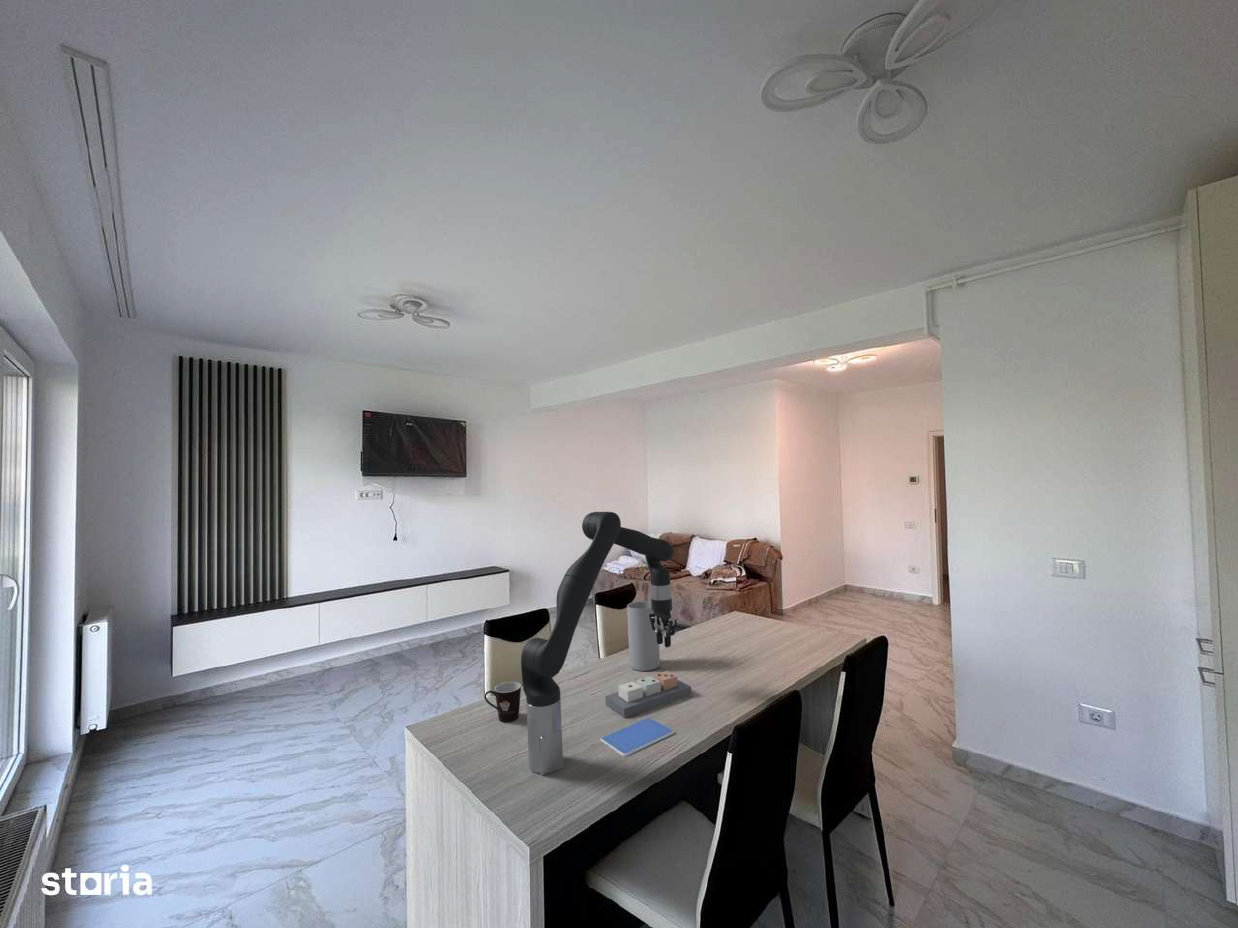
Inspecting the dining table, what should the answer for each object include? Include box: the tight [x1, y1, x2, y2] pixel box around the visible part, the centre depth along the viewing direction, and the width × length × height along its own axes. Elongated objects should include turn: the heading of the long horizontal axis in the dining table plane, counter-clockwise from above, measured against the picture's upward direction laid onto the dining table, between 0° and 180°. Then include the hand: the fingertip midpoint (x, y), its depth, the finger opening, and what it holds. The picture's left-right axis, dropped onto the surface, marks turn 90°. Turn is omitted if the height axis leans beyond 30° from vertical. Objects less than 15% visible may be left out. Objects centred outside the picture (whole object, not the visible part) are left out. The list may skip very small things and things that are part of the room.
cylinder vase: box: [626, 601, 661, 672], centre depth 200 cm, size 12×12×25 cm
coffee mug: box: [484, 681, 522, 724], centre depth 160 cm, size 12×9×10 cm
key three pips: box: [653, 670, 679, 691], centre depth 172 cm, size 6×6×4 cm
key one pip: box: [617, 681, 643, 702], centre depth 164 cm, size 6×6×4 cm
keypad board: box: [604, 679, 692, 719], centre depth 168 cm, size 12×28×3 cm, turn 122°
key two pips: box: [635, 675, 661, 696], centre depth 168 cm, size 6×6×4 cm
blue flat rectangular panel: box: [599, 717, 675, 758], centre depth 144 cm, size 19×13×1 cm, turn 126°
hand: (663, 644), depth 173 cm, fingers open, 4 cm apart
